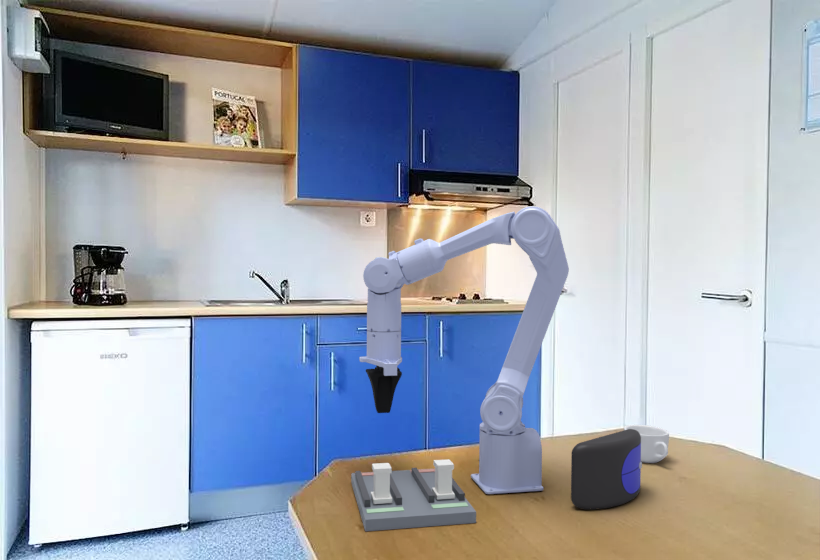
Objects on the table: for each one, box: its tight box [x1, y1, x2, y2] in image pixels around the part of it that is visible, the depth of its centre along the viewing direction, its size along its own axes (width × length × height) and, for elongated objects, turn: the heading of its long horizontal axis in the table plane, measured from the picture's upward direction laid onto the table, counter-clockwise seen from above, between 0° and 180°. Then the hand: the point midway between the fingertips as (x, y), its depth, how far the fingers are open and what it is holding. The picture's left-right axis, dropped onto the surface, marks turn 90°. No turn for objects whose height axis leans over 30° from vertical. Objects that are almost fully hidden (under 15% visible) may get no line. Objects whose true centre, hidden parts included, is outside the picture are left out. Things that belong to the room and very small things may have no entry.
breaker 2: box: [432, 459, 455, 500], centre depth 83 cm, size 3×3×5 cm
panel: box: [350, 467, 477, 532], centre depth 85 cm, size 15×18×2 cm
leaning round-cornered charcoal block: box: [570, 429, 643, 510], centre depth 86 cm, size 16×5×9 cm, turn 128°
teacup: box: [623, 424, 670, 464], centre depth 105 cm, size 10×8×5 cm
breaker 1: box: [371, 462, 393, 504], centre depth 81 cm, size 3×3×5 cm
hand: (383, 412), depth 96 cm, fingers closed
